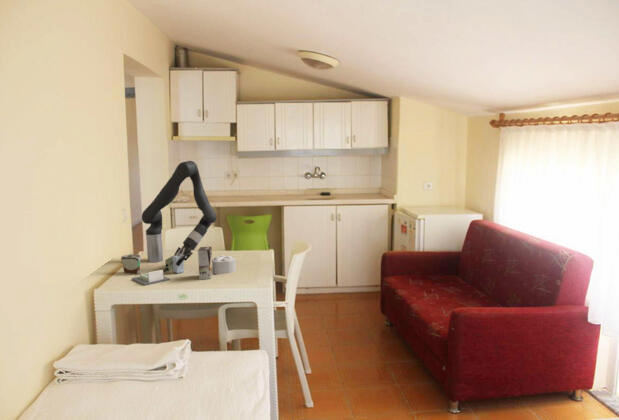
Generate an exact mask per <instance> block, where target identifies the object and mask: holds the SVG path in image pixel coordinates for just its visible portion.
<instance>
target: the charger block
mask: <svg viewBox="0 0 619 420" xmlns="http://www.w3.org/2000/svg"><path fill="white" fill-rule="evenodd" d="M172 256H173V269H172V272H173V273H176V274H179V273H184V270H185V269H184V263H183V262H184V261H182V263H181V264H180V265H179V266H177V265H176V263H177V261H178V260H179V259H180V257H181V256H180V255H176V256H174V255H172Z"/></svg>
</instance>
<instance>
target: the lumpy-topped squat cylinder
mask: <svg viewBox="0 0 619 420" xmlns="http://www.w3.org/2000/svg"><path fill="white" fill-rule="evenodd" d="M236 263H237V262H236V258H235V257H234V256H233V257H232V256H231V255H226V256H225V255H224V254H223V255H222V254H221V255H220V256H215V257H214V258H212V268H213V274H214V275H226V274H232V273H234V272H236V271H237V266H236V265H237V264H236Z"/></svg>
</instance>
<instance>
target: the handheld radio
mask: <svg viewBox="0 0 619 420" xmlns="http://www.w3.org/2000/svg"><path fill="white" fill-rule="evenodd" d="M176 255H177V254H176ZM173 256H174V255H172V256H170V257H169V258H166V259H165V260H164V261H165V268H164V269H162V270H163V273H165V272H167V271H172V270H173V264H172V261H173ZM183 264H184V261H183Z"/></svg>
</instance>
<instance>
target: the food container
mask: <svg viewBox="0 0 619 420" xmlns="http://www.w3.org/2000/svg"><path fill="white" fill-rule="evenodd" d="M120 260H121V261H122V268H123V269H122V270H123V273H124V274H126V275H127V274H128V275H141V260H142V257H141V255H140V254H126V255H122V256H121V257H120Z"/></svg>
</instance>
